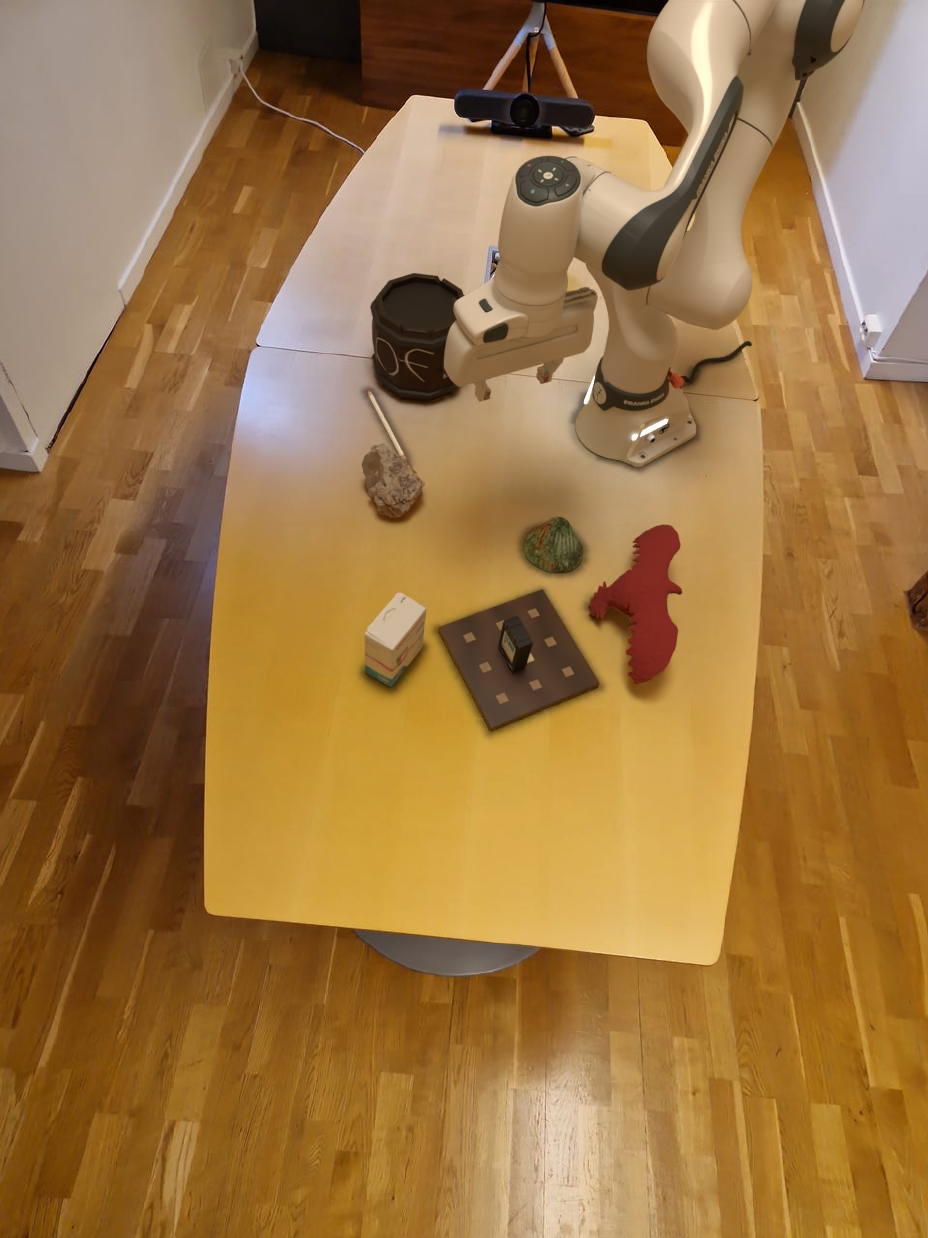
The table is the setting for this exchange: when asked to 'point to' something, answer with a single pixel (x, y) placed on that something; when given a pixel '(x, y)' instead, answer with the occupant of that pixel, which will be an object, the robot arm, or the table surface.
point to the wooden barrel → (413, 336)
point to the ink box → (394, 639)
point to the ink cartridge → (515, 643)
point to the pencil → (385, 423)
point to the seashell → (553, 546)
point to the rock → (391, 481)
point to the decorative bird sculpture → (645, 602)
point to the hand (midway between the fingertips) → (513, 388)
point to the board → (530, 689)
